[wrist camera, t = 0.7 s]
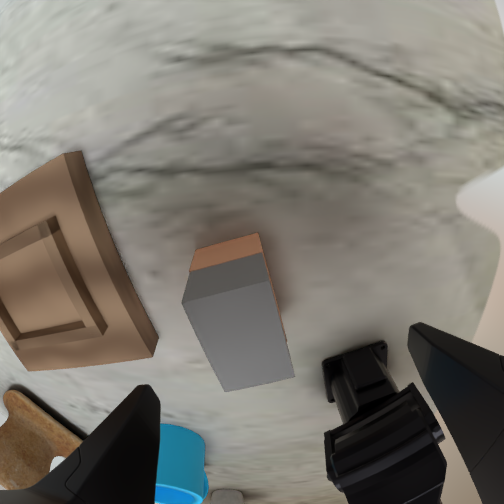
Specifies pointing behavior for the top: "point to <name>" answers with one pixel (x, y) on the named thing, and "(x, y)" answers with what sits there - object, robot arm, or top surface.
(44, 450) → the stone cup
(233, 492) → the house plant
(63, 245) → the walnut cradle stand
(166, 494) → the mug
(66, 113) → the top surface
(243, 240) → the block
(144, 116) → the top surface
